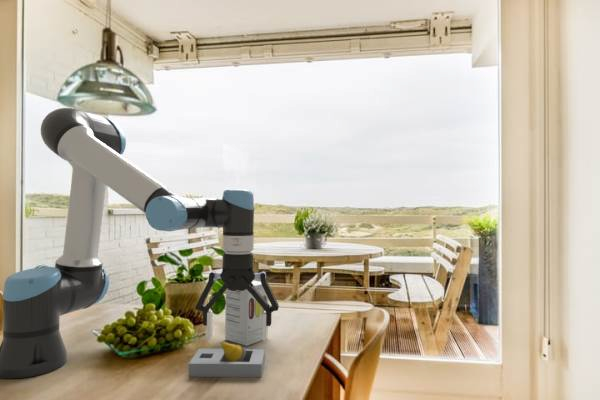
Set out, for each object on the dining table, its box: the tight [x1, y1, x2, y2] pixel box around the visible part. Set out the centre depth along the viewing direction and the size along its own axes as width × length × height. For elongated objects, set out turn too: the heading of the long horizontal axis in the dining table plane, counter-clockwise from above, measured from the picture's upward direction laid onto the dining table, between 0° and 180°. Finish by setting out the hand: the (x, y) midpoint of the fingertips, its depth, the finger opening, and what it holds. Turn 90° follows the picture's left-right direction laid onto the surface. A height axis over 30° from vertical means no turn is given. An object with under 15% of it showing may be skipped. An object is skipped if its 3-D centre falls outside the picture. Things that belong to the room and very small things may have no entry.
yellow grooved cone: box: [220, 341, 247, 362], centre depth 101 cm, size 5×5×10 cm
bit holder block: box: [188, 348, 266, 378], centre depth 101 cm, size 17×10×3 cm, turn 90°
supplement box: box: [224, 280, 269, 347], centre depth 123 cm, size 10×9×17 cm
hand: (237, 338), depth 101 cm, fingers open, 13 cm apart
